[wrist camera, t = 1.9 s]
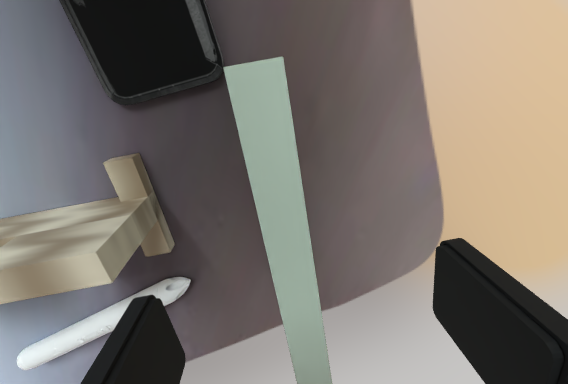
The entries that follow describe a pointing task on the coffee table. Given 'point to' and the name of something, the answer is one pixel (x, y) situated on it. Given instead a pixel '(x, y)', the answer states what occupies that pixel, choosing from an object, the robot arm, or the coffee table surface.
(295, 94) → the coffee table surface
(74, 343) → the marker
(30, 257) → the slotted wooden stand
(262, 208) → the mint green slab
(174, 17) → the phone
